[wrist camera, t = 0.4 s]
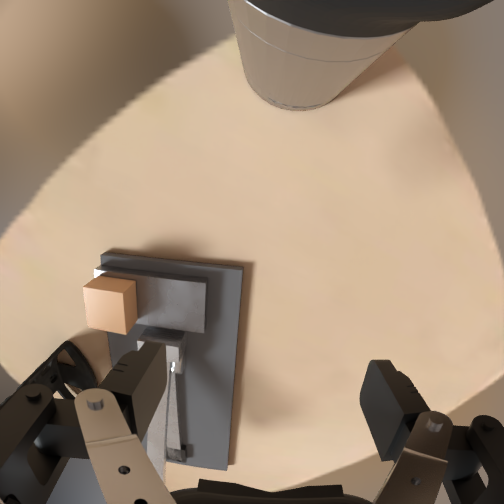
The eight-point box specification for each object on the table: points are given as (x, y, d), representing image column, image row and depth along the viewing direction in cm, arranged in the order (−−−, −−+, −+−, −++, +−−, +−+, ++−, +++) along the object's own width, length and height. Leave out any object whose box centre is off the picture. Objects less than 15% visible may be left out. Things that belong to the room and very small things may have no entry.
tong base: (100, 264, 29) (84, 276, 26) (208, 277, 29) (201, 291, 26) (129, 445, 36) (122, 462, 33) (205, 460, 36) (201, 479, 33)
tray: (104, 252, 30) (100, 255, 29) (243, 267, 30) (242, 270, 29) (133, 448, 38) (131, 453, 37) (227, 465, 38) (227, 470, 37)
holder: (111, 411, 36) (34, 518, 16) (70, 402, 37) (-7, 491, 18) (83, 341, 33) (-29, 445, 14) (42, 336, 34) (-60, 419, 15)
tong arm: (149, 357, 30) (147, 357, 29) (178, 362, 30) (176, 362, 29) (144, 510, 25) (141, 513, 24) (169, 515, 25) (167, 520, 24)
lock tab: (98, 275, 28) (82, 286, 25) (135, 280, 28) (122, 293, 25) (101, 313, 29) (87, 327, 26) (137, 319, 29) (126, 334, 26)
